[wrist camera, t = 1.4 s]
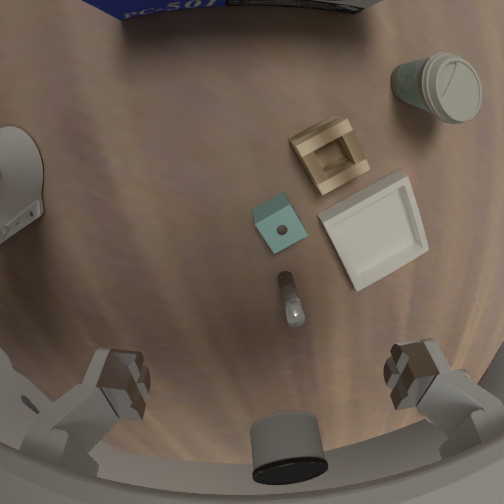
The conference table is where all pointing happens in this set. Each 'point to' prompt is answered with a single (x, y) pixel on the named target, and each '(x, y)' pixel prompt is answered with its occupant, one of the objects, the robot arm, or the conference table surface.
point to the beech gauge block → (330, 153)
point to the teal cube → (278, 223)
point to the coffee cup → (440, 87)
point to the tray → (376, 229)
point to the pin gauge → (291, 300)
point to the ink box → (142, 3)
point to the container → (287, 449)
